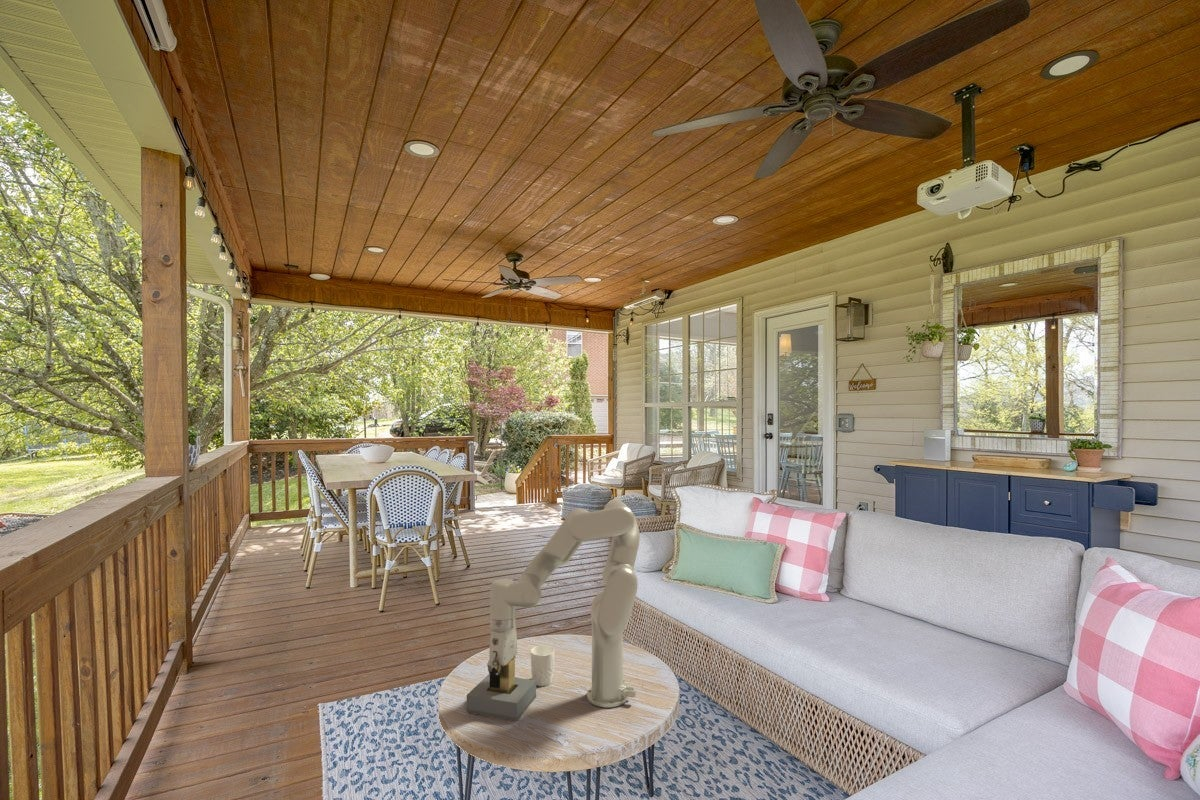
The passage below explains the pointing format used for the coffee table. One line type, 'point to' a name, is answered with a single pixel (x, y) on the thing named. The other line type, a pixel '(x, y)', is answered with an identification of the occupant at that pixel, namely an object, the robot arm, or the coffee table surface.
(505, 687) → the tall yellow pillar
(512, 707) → the well block
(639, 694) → the coffee table surface
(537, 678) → the white cup
